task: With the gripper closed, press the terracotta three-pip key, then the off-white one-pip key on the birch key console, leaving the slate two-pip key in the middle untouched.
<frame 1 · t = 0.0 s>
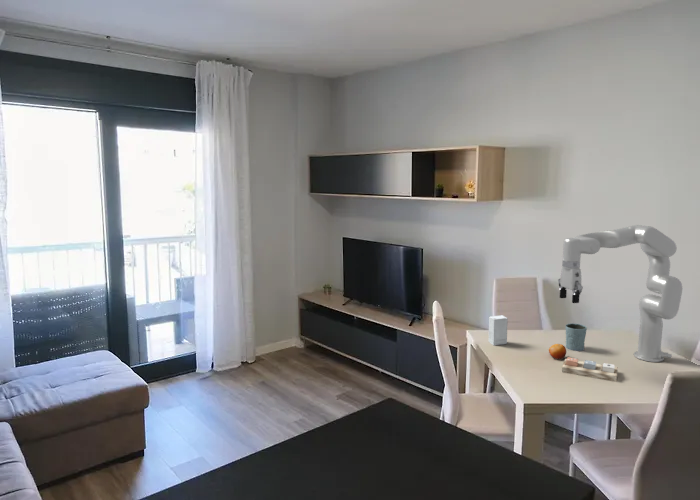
hand: (569, 300, 229), 31 cm above the table, tool pointing down, fingers open, 9 cm apart
fruit: (557, 358, 242), on the table
key 2: (590, 364, 223), point 4 cm above the table, slide at 0.0 cm
key 1: (608, 367, 219), point 4 cm above the table, slide at 0.0 cm
console: (589, 372, 223), on the table
grey-blue cup: (574, 348, 255), on the table
key 3: (572, 361, 227), point 3 cm above the table, slide at 0.0 cm
skincare box: (497, 343, 263), on the table
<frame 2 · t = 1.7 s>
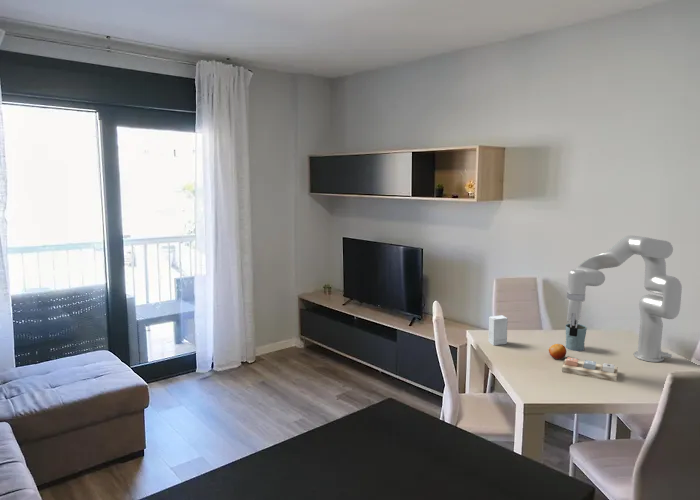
hand: (573, 335, 225), 16 cm above the table, tool pointing down, fingers closed
nothing on the table moved.
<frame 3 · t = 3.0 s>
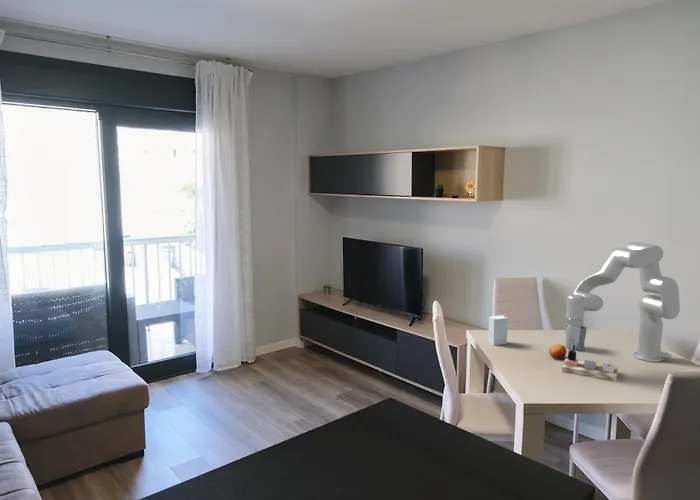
hand: (571, 359, 226), 5 cm above the table, tool pointing down, fingers closed
key 3: (572, 362, 227), point 3 cm above the table, slide at 0.3 cm, touching gripper
everything else where it was.
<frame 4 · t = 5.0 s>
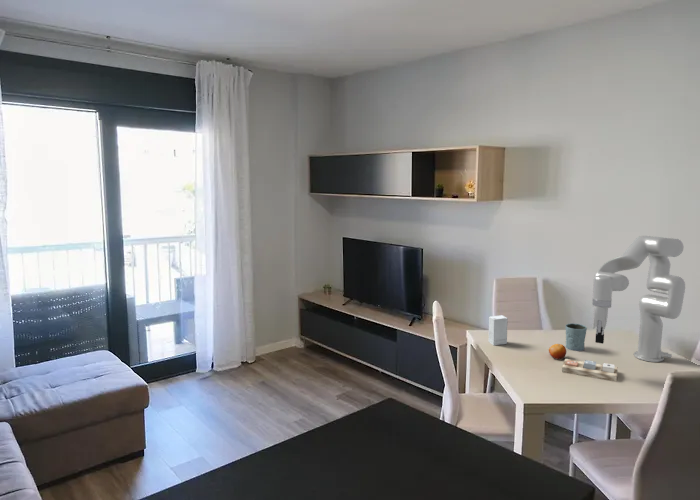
hand: (599, 342, 220), 15 cm above the table, tool pointing down, fingers closed
key 3: (571, 364, 227), point 2 cm above the table, slide at 1.5 cm
everything else where it was.
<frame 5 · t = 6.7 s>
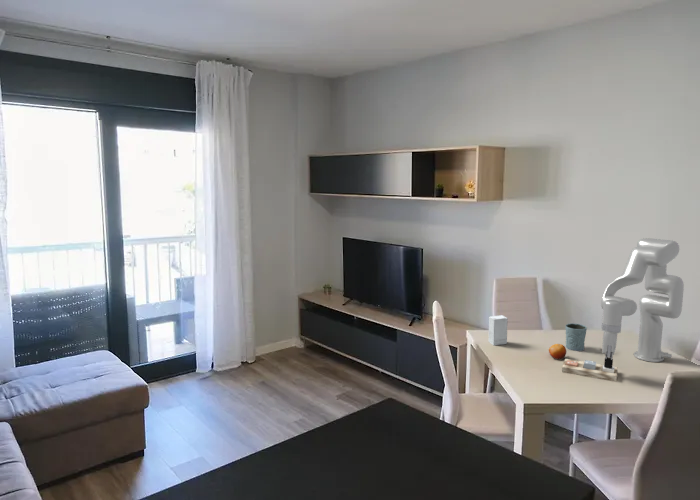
hand: (608, 367, 219), 4 cm above the table, tool pointing down, fingers closed
key 1: (608, 369, 219), point 3 cm above the table, slide at 1.0 cm, touching gripper
everything else where it was.
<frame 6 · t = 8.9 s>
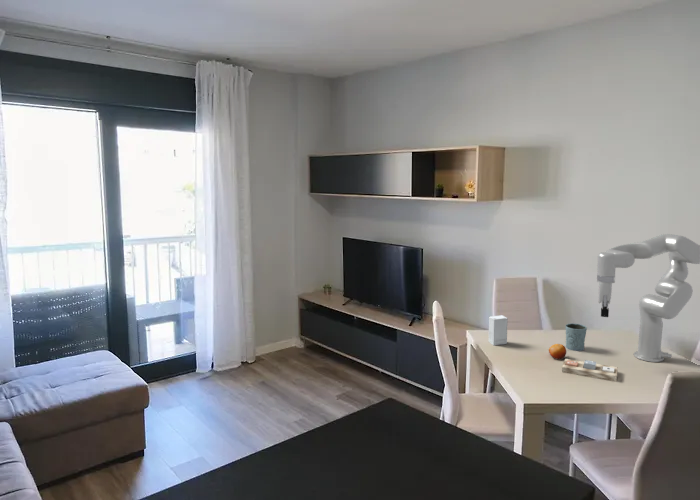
hand: (604, 316, 232), 23 cm above the table, tool pointing down, fingers closed
key 1: (608, 371, 219), point 2 cm above the table, slide at 1.5 cm
everything else where it was.
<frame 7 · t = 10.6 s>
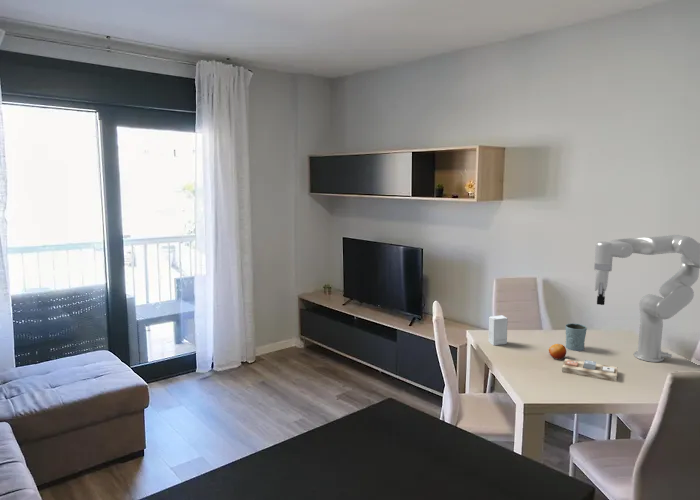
hand: (600, 304, 238), 27 cm above the table, tool pointing down, fingers closed
nothing on the table moved.
at the end: key 3 slide at 1.5 cm; key 1 slide at 1.5 cm; key 2 slide at 0.0 cm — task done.
